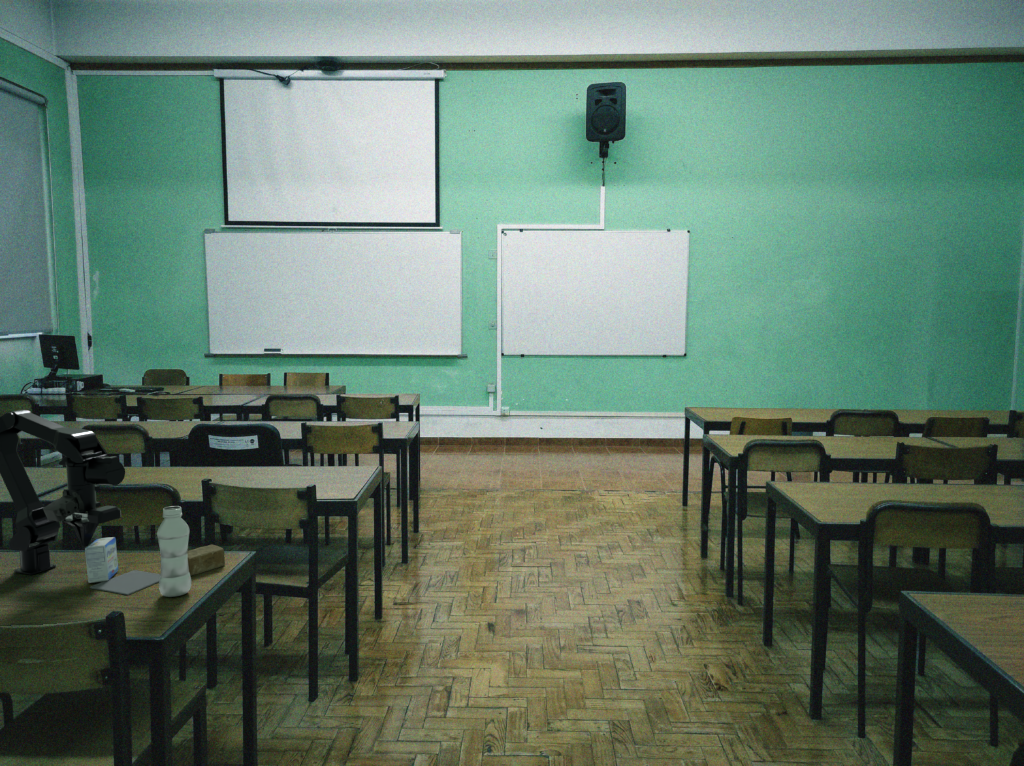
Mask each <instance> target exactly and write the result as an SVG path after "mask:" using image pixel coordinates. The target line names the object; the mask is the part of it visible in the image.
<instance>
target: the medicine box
mask: <svg viewBox="0 0 1024 766" xmlns="http://www.w3.org/2000/svg"><path fill="white" fill-rule="evenodd" d="M117 551H118V550H117V539H116V537H115V536H112V537H102V538H96V539H95V540H93V542H91V543H89V545H88V546H87V547H84V552H85V563H86V573H87V580H88V581H87V582H88V584H90V583H94V584H95V583H101V582H104V581H109V580H110V579H112V578H113V576H115V574H116V573H117V572H118V571H119V562H118V561H119V560H118V552H117Z"/></svg>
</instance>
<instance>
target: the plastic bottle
mask: <svg viewBox="0 0 1024 766" xmlns="http://www.w3.org/2000/svg"><path fill="white" fill-rule="evenodd" d="M182 516H183V512H182V507H181V506H179V505H172V506H165V507H164V508H162V518H164V519H163V520H162V522H161V524H160V525H159V527H158V530H157V531H156V532H157V533H156V534H157V537H156V538H157V541H158V546H159V547H158V548H159V550H160V551H159V553H160V573H159V574H160V575H161V576H160V579H159V582H158V588H159V593H160V594H161V595H162V596H163V597H165V598H166V597H167V598H172V597H179V596H183V595H185V594H187V593H189V591H190V589H191V587H192V577H191V576H190V573H189V567H188V559H187V557H188V554H187V552H188V551H189V550H188V549H189V539H190V526H189V525H188V524H187V522H186V521H185V520H184V519H183V518H182Z"/></svg>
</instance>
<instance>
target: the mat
mask: <svg viewBox="0 0 1024 766" xmlns="http://www.w3.org/2000/svg"><path fill="white" fill-rule="evenodd" d="M160 574H161V573H154V572H149V571H148V572H147V571H143V570H137V569H133V570H131V571H128V572H125V573H122V574H120V575H117V576H115V577H111V578H110V580H109V581H102V582H98V583H96V584H93V585H91V586H89V589H92V590H97V591H101V592H102V591H103V592H108V593H113V594H114V593H115V594H119V595H124V596H129V595H132V594H135V593H137V592H139V591H142V590H144V589H146V588H148V587H151V586H153V585H155V584H159V579H160V576H161V575H160Z"/></svg>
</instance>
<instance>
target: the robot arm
mask: <svg viewBox="0 0 1024 766" xmlns="http://www.w3.org/2000/svg"><path fill="white" fill-rule="evenodd" d="M22 432H23V433H25V434H28V435H30V436H32V437H35V438H38V439H40V440H42V441H45V442H47V443H49V444H50V445H53V446H52V447H54V449H55V451H56V452H58V453H59V454H61V455H62V456H63V458H62V459H61V460H60V461H59V462H58V466H66V467H65V468H66V480H67V481H66V483H67V488H63V490H62V493H61V494H62V496H61V497H59V498H57V499H56V500H54V501H52V502H50V503H49V504H47V505H45V504H44V503H42V502H41V501H40V499H39V496H38V494H37V491H36V490H35V488H34V486H33V484H32V481H31V479H30V477H29V474H28V472H27V470H26V469H25V466H24V464H23V462H22V460H21V458H20V455H19V453H18V445H19V440H20V438H19V434H20V433H22ZM0 476H1V479H2V480H3V483H4V485H5V487H6V489H7V491H8V494H9V496H10V498H11V500H12V502H13V504H14V506H15V509H16V512H17V514H16V518H15V523H14V525H15V528H16V530H17V531H16V533H15V534H14V535H13V536H12V537H11V538H10V540H9V541H8V545H9V547H10V550H11V551H19V566H20V567H19V568H16V569H14V570H13V572H14V573H18V574H24V575H29V576H33V575H36V574H38V573H42V572H44V571H47V570H48V571H49V570H51V569H53V568H56V567H57V564H54V563H51V552H50V545H49V544H50V543H54V542H57V537H58V534H59V530H60V528H61V523H60V522H63V523H66V524H68V525H69V526H71V527H72V529H73V530H74V533H75V534H76V537H77V538H78V541H79V543H80V545H81V547H82V548H83V547H84V548H86V547H88V546H89V545H90V544H91V541H92V538H93V537H94V534H95V532H96V530H97V529H98V526H99V525H100V524H104V523H107V522H110V521H114V520H115V521H116V520H118V519H121V518H122V511H121V510H122V509H121V508H119V507H118V506H115V505H104V506H101V501H97V493H96V492H97V491H100V490H101V489H100V487H101V486H118V485H120V484H121V483H122V482H123V480H124V478H125V476H126V468H125V467H124V465H123V463H122V462H121V461H119V460H118V456H117V455H116V456H115V455H114V456H113V455H112V456H109V454H108V453H107V450H106V449H105V447H104V446H103V444H102V443H101V442H100V441H99V439H98V437H97V435H96V433H95V432H93V431H92V430H88V429H84V428H76V427H75V428H74V427H67V426H63V425H61V424H59V423H56V422H53V421H52V420H49V419H46V418H44V417H41V416H40V415H37V414H34V413H32V412H31V410H27V409H19V410H12V411H11V410H10V411H8V412H7V413H4V414H3V415H1V416H0ZM100 485H101V486H100Z"/></svg>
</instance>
